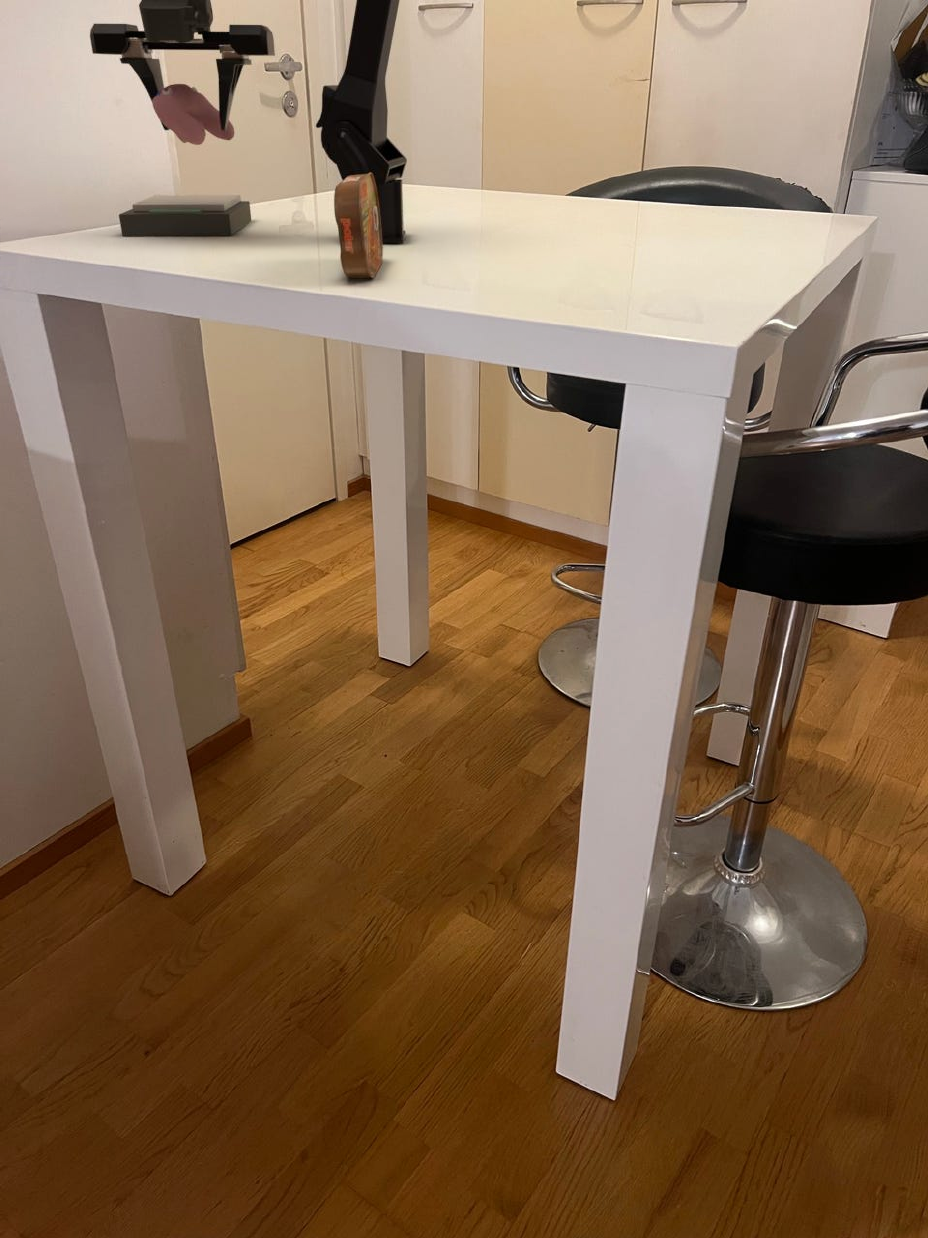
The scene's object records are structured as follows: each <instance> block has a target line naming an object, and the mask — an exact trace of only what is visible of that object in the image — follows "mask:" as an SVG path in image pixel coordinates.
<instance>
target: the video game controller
mask: <svg viewBox="0 0 928 1238" xmlns="http://www.w3.org/2000/svg"><path fill="white" fill-rule="evenodd" d="M151 103H152V104H151V105H152V107H153V111H154V113H155V114H156V116H157V118H158V119H159V121H160V120H161V121H160V123H161V122H162V123H163V124H164V125H165V126H166V127H168V128H169V129H170V130H169V131H172V132H173V133H174V134H175V136H176V137H177V138H178V139H179V140H180V141H181V143H183V144H186V143H189V144H191V145H195V146H200V145H202V144H203V143H204V141H205V139H206V135H207V133H206V132H208V133H209V134H210V135H212V136H214V137H215V138H217V139H220V140H224V141H231V140H232V139H233V138H234V137H235V127H234V125H233V123H232V122H231V121H230V119H229V120H228V124H227V129H226V130H225V131H222V130H221V124H220V117H219V109H217V108H216V107H215V106H214V105H212V103H211V102H210V101H209V100H208V98H206V97H205V95H204V94H203V93H201V92H199V91H198V90H197V88H196V87H195V86H192V87H191V86H189V85H188V84H185V83H174V84H169V85H167V86H164V89H162V90H161V91H159V92H158V93H157V96H155V97H154V98H153V100H152V101H151ZM162 123H161V124H162Z"/></svg>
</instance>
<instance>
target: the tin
mask: <svg viewBox="0 0 928 1238" xmlns="http://www.w3.org/2000/svg"><path fill="white" fill-rule="evenodd" d="M333 209H334V210H333V211H334V218H335V222H336V225H337V231H338V240H339V248H340V263H341V268H342V271H343V274H344V275H345V277H346V278H347V279H364V278H370V279H374V278H375V277H376V276H377V273H378V272H379V269H380V266H381V265H382V262H383V256H384V255H383V254H384V253H383V251H384V249H383V247H384V246H383V242H382V230H381V217H380V208H379V200H378V193H377V187H376V183H375V179H374V176H373V174H372V173H371V172H370V173H369V174H361V175H351V176H348V177H346V178H345V179H344V180H341V181H340V182H339V183H338V184H337V185H336V186H335V188H334V193H333Z"/></svg>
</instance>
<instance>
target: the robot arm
mask: <svg viewBox="0 0 928 1238" xmlns="http://www.w3.org/2000/svg"><path fill="white" fill-rule="evenodd" d="M399 5H400V0H356V2H355V7H354V8H355V9H354V13H353V14H354V15H353V20H352V26H351V32H350V39H349V44H348V45H349V46H348V51H347V57H346V62H345V68H344V70H343V71H344V72H343V74H342V76H341V77H340V80H339V82H338V84H334V85H333V84H332V85H330V84H329V85H327V84H326V85H323V86H322V93H321V112H320V116H319V119H318V121H317V122H316V124H315V128H317V129H321V130H320V143H321V147H322V149H323V150H324V152H325V154H326V156H327V158H328V159H329V160H330V161H331V162H332V163H334V165H336V167H337V170H338V173H339V175H340V177H341V181H343V180H344V179H345V178H346V177H348V176H351V175H361V174H369V173H370V172H371V173H372V174H373V176H374V179H375V183H376V187H377V193H378V200H379V208H380V217H381V230H382V243H404V240H405V238H406V230H405V229H404V228H405V227H404V225H405V224H404V198H403V197H404V196H403V195H404V191H403V179H401V178H403V177H404V173H405V169H406V166H407V162H408V159H407V158H406V156H405V155H404V154H403V153H402V152H401V151H400V150H399V148H397V146H396V145H395V144H394V143H393V142H392V141H391V140H390V139H389V138H388V116H389V115H388V111H389V110H388V109H389V108H388V99H387V89H386V88H387V87H386V76H387V71H388V65H389V61H390V54H391V49H392V43H393V37H394V32H395V26H396V22H397V17H398V11H399ZM138 8H139V13H140V18H141V22H142V26H143V30H139V28H138V25H136V24H129V23H93V24H92V26H91V28H90V31H89V39H90V46H91V51H92V54H94V55H109V56H110V55H117V56H118V55H120V56H121V57H119V61H120V63H121V64H122V65H129V66H130V67H131V68H132V70H133V71H134V72H135V73H136V75H137V77H138V78H139V80H140V81H141V83H142V85H143V86H144V89H145V90H146V93H147V95H148V97H149V99H150V102H152V100H153V98H154V97H155V96H157V93H158V92H159V91H161V90H162V89H164V88H165V84H164V80H163V79H164V78H163V73H162V66H161V62H160V59H159V58H153V55H152V54H153V53H154V51H219V54H221V58H215V63H216V70H217V75H218V76H217V77H218V111H219V117H220V124H221V130H222V131H225V130H226V129H227V124H228V120H229V121H230V115H231V111H232V104H233V100H234V96H235V91H236V88H237V85H238V83H239V79H240V76H241V73H242V71H243V68H244V67H245V66H247V65H248V66H252V59H250V56H255V57H257V56H258V57H259V56H260V57H261V56H264V57H272V56H276V51H275V40H274V34H273V31H271V29H270V28H269V27H268V26H266V25H263V24H229V26H228V27H229V28H228V31H212V30H211V27H212V24H213V21H214V13H213V6H212V1H211V0H140V2H139V4H138ZM196 33H197V35H199V36H201V38H195V34H196ZM159 122H160V123H161V126H162V127H163V130H164V131H171V130H170V129H169V128H168V127H166V126H165V125H164V124H163V123H162V122H161V120H160V119H159Z"/></svg>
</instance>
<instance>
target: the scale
mask: <svg viewBox="0 0 928 1238" xmlns="http://www.w3.org/2000/svg"><path fill="white" fill-rule="evenodd" d="M131 207H132V208H131V209H129V210H126V211H124V212H121V213H120V214H118V219H119V224H120V230H121V236H122V237H231V236H233V235H234V234H235V233H237V232H239V231H240V230H242V229H243V228H244V227H246V226H247V225H248V224H249V223H251V222H252V212H251V203H250V201H249V200H248V201H247V200H243V201H242V199H241V195H240V194H183V195H182V194H163V195H162V194H155V195H152V196H149V197H147V198H145V199H142V200H140V201H137V202H135V203H133V204H132V205H131Z"/></svg>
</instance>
